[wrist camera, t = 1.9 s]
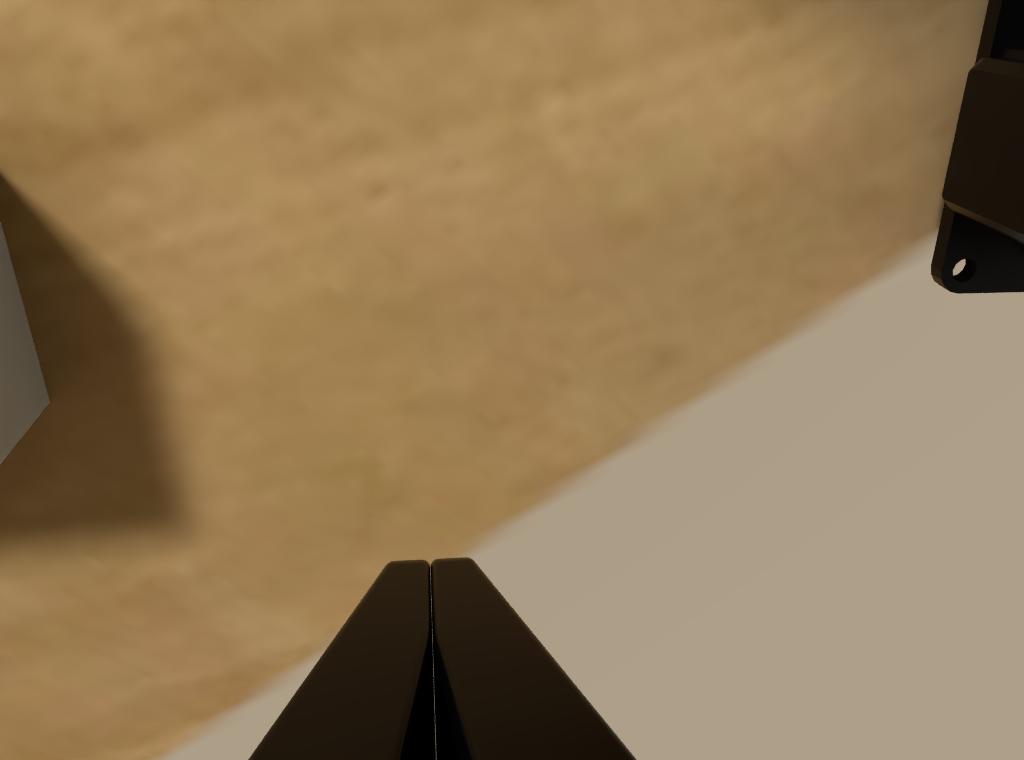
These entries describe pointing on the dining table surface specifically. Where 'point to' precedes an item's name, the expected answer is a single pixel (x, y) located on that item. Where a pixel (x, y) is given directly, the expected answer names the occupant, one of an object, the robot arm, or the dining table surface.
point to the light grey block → (16, 362)
